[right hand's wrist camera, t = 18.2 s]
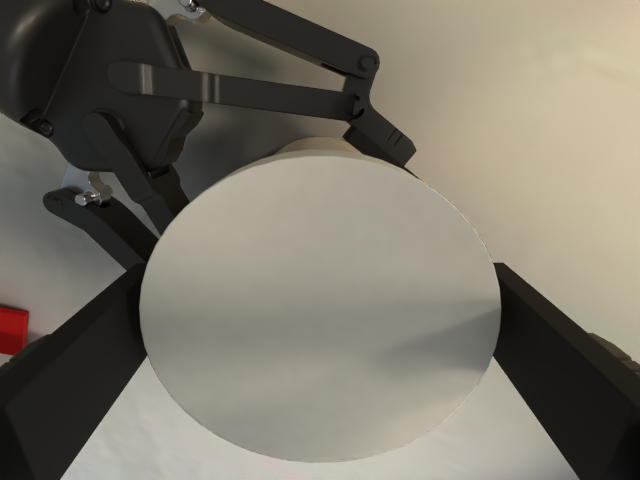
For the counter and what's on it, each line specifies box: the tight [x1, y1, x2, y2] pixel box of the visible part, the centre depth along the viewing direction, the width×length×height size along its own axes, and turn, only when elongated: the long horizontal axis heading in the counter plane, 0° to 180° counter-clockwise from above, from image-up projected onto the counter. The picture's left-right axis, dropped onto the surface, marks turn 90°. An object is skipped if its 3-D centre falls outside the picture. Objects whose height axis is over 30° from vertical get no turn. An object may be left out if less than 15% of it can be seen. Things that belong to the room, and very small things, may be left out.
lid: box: [139, 149, 501, 463], centre depth 11 cm, size 11×11×2 cm
